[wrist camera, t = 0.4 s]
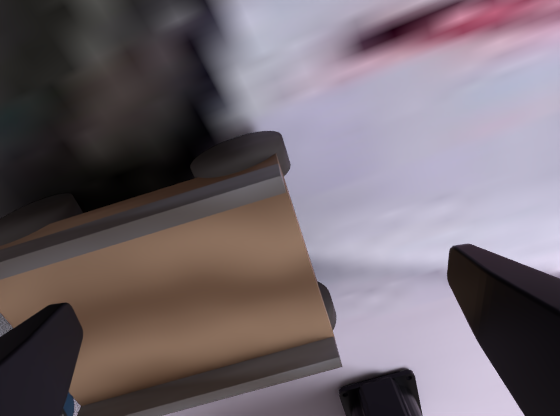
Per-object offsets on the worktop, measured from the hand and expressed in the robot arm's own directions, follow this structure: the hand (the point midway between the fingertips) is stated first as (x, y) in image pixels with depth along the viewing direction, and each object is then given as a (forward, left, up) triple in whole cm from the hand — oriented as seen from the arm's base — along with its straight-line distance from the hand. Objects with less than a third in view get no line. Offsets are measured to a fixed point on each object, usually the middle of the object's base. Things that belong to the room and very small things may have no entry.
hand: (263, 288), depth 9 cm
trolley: (-6, +7, -14) cm, 17 cm away
